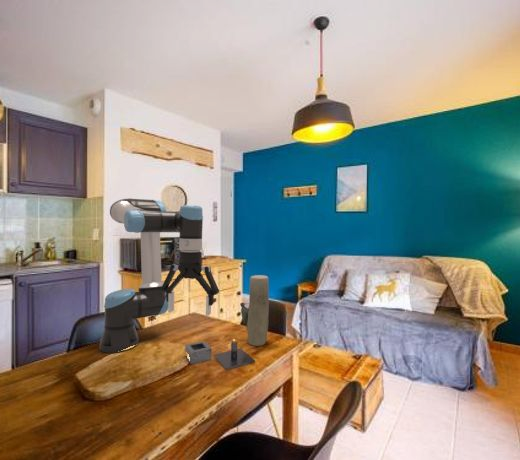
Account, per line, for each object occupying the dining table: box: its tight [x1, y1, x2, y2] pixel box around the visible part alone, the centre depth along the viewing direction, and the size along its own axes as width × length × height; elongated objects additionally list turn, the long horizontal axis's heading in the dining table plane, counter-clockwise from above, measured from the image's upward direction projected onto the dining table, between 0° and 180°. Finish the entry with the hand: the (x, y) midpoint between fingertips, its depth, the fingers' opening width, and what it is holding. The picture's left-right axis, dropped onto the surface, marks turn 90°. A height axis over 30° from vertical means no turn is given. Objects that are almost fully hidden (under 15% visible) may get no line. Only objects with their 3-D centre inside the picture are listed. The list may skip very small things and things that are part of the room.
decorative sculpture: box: [239, 274, 270, 347], centre depth 128 cm, size 14×10×30 cm
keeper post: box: [213, 337, 256, 371], centre depth 111 cm, size 12×12×8 cm
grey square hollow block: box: [184, 340, 212, 365], centre depth 111 cm, size 8×8×4 cm
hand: (189, 313), depth 96 cm, fingers open, 13 cm apart
